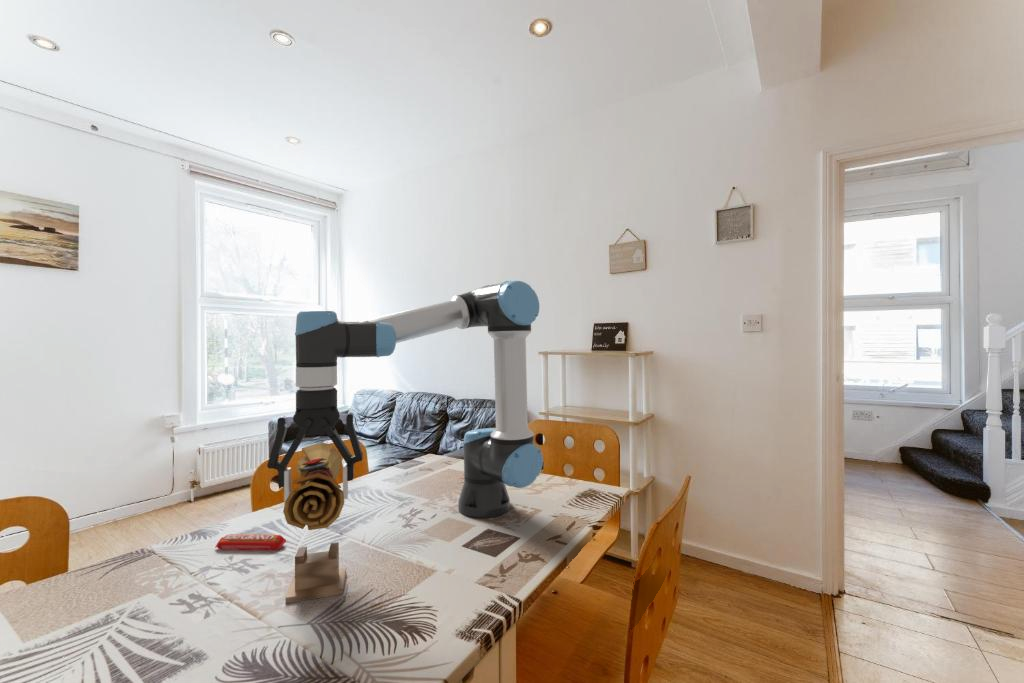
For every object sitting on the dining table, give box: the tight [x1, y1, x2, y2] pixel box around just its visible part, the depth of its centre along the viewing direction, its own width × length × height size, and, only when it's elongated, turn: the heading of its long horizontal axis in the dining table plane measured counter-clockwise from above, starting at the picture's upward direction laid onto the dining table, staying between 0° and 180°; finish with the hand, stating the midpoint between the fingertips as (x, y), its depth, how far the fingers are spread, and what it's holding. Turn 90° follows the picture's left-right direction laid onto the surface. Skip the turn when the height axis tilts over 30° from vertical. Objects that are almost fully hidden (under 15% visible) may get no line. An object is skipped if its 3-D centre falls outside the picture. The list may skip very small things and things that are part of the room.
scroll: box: [282, 441, 345, 531], centre depth 86 cm, size 27×10×10 cm, turn 23°
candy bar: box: [214, 533, 287, 552], centre depth 102 cm, size 16×4×3 cm, turn 88°
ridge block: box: [285, 542, 347, 604], centre depth 86 cm, size 10×8×8 cm
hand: (317, 499), depth 86 cm, fingers closed on scroll, 10 cm apart
